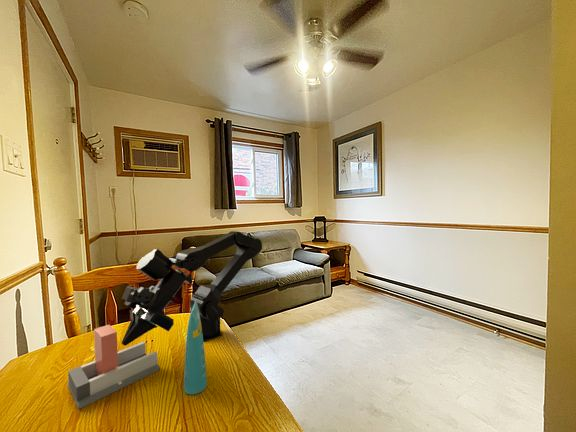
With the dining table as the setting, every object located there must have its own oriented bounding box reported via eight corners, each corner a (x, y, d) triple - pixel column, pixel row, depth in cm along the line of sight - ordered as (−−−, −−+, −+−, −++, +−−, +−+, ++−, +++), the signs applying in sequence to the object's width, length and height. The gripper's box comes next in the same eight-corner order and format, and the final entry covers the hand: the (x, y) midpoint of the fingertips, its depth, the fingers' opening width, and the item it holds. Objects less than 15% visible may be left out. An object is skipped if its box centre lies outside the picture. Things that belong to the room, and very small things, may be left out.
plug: (110, 367, 62) (109, 324, 62) (118, 377, 58) (116, 331, 58) (95, 374, 60) (94, 329, 59) (102, 384, 56) (101, 337, 56)
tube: (207, 395, 54) (205, 308, 53) (183, 401, 52) (180, 312, 52) (206, 374, 61) (204, 297, 60) (185, 379, 59) (182, 300, 59)
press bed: (142, 354, 70) (142, 339, 70) (159, 369, 63) (158, 353, 63) (67, 385, 58) (67, 368, 58) (78, 409, 51) (77, 389, 51)
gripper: (130, 268, 71) (83, 320, 63) (158, 279, 59) (105, 345, 51) (160, 288, 77) (121, 337, 69) (191, 301, 65) (148, 363, 57)
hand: (123, 344), depth 62 cm, fingers closed
